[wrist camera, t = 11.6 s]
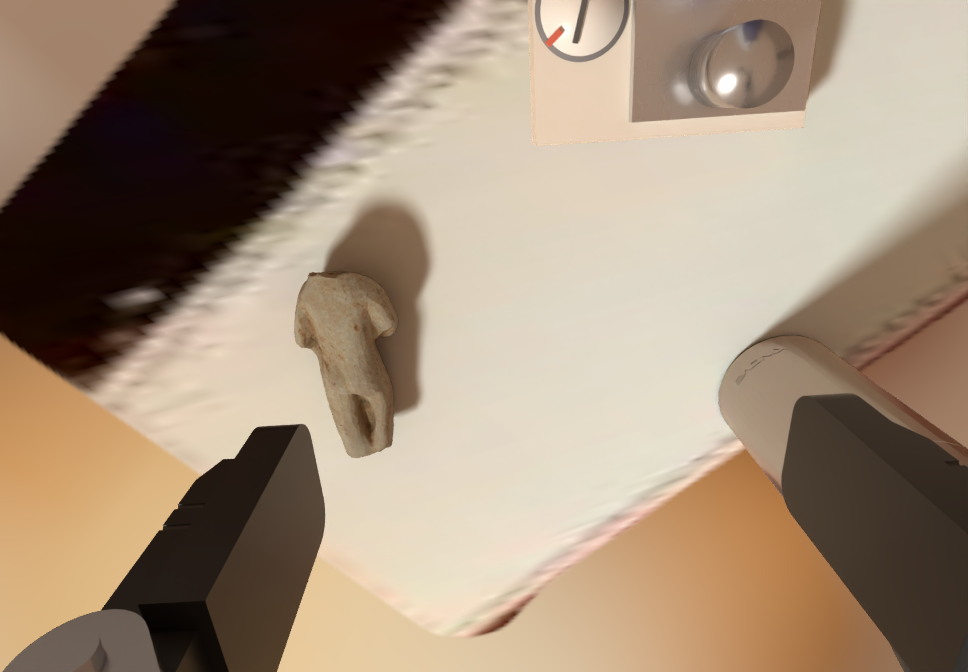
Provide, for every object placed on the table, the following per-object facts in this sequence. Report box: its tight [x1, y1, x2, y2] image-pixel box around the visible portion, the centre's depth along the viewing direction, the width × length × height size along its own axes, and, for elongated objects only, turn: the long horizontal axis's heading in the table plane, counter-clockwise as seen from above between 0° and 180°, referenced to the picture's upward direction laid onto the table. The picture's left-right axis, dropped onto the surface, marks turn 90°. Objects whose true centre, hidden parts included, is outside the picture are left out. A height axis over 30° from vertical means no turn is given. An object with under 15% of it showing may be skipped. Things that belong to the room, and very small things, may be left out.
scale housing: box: [528, 0, 822, 146], centre depth 33 cm, size 16×14×4 cm
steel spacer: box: [687, 19, 795, 108], centre depth 30 cm, size 4×4×4 cm
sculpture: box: [294, 271, 398, 458], centre depth 41 cm, size 7×5×15 cm
